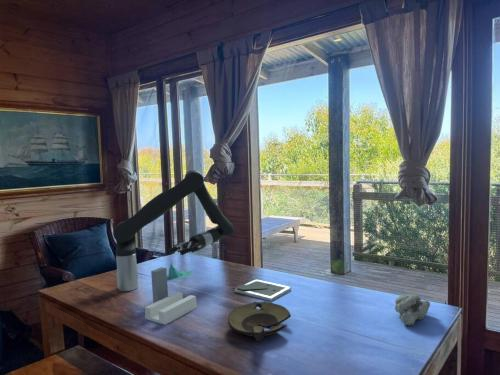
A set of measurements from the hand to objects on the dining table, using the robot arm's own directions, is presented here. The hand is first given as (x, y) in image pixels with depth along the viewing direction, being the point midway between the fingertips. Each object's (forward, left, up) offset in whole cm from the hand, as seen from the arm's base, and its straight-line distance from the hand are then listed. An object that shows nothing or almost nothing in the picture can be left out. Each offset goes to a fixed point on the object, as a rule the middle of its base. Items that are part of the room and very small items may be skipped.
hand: (174, 252), depth 167 cm
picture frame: (+33, +22, -21) cm, 45 cm away
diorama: (-20, +23, -21) cm, 37 cm away
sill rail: (+12, -16, -20) cm, 28 cm away
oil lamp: (+51, -13, -20) cm, 56 cm away
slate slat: (0, -10, -20) cm, 23 cm away
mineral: (+96, +22, -20) cm, 101 cm away
